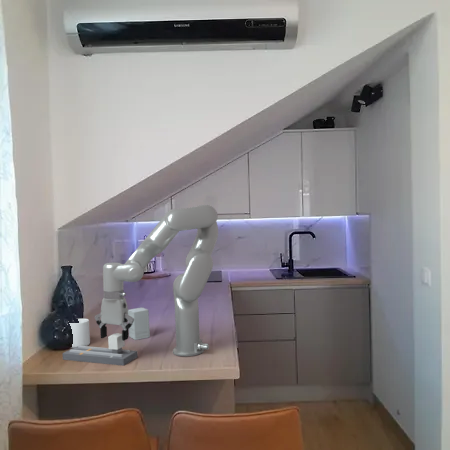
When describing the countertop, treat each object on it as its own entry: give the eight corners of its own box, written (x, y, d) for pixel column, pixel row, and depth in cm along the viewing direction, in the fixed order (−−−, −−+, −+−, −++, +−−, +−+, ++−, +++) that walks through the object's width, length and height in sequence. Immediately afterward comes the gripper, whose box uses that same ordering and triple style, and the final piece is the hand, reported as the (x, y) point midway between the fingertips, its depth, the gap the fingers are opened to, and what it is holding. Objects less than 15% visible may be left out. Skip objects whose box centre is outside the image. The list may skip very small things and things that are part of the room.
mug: (64, 343, 210) (62, 319, 210) (91, 341, 212) (90, 317, 211) (59, 349, 202) (57, 324, 201) (88, 347, 203) (86, 322, 202)
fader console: (137, 357, 188) (137, 348, 188) (123, 365, 178) (123, 357, 178) (78, 351, 198) (78, 343, 198) (62, 359, 188) (62, 351, 188)
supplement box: (150, 337, 215) (149, 309, 214) (134, 340, 211) (133, 312, 210) (144, 333, 221) (142, 306, 221) (128, 336, 217) (127, 309, 217)
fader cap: (125, 351, 187) (124, 333, 186) (117, 355, 182) (116, 337, 182) (116, 350, 188) (115, 333, 188) (109, 354, 183) (108, 336, 183)
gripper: (138, 294, 184) (138, 338, 185) (100, 291, 190) (101, 334, 191) (127, 298, 177) (128, 343, 178) (88, 295, 183) (89, 339, 184)
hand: (114, 338), depth 185 cm, fingers open, 9 cm apart
